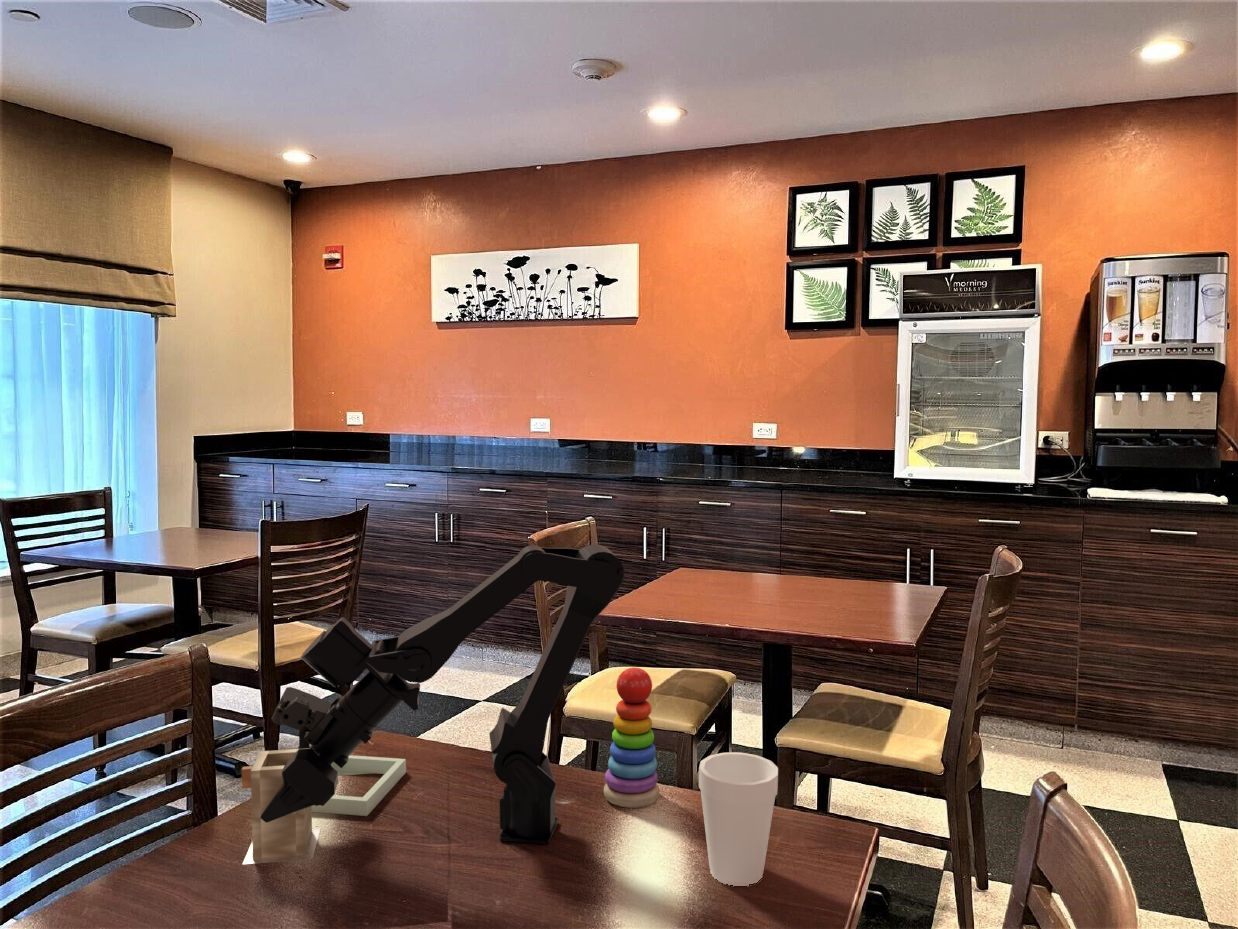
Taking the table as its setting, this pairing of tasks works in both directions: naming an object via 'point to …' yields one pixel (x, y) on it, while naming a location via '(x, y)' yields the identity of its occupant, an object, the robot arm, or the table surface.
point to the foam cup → (737, 814)
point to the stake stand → (307, 855)
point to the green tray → (367, 803)
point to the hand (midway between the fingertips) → (270, 802)
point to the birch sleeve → (265, 782)
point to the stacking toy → (632, 745)
